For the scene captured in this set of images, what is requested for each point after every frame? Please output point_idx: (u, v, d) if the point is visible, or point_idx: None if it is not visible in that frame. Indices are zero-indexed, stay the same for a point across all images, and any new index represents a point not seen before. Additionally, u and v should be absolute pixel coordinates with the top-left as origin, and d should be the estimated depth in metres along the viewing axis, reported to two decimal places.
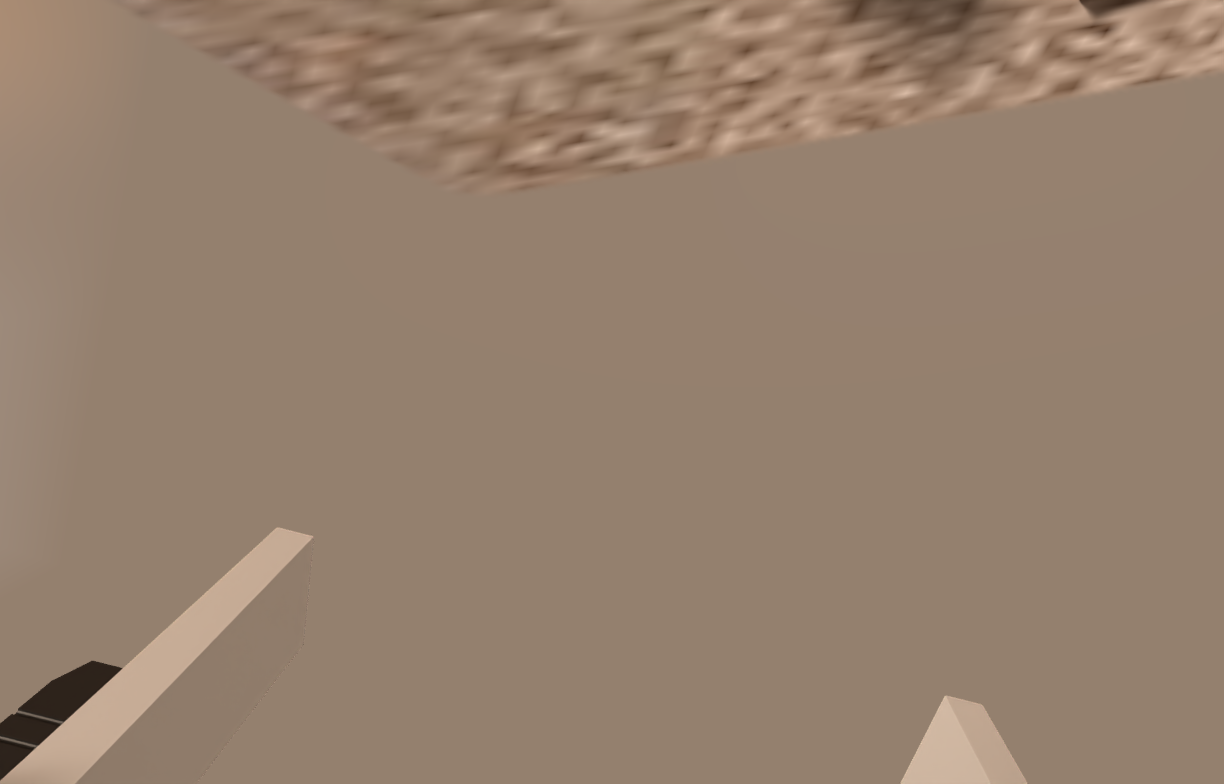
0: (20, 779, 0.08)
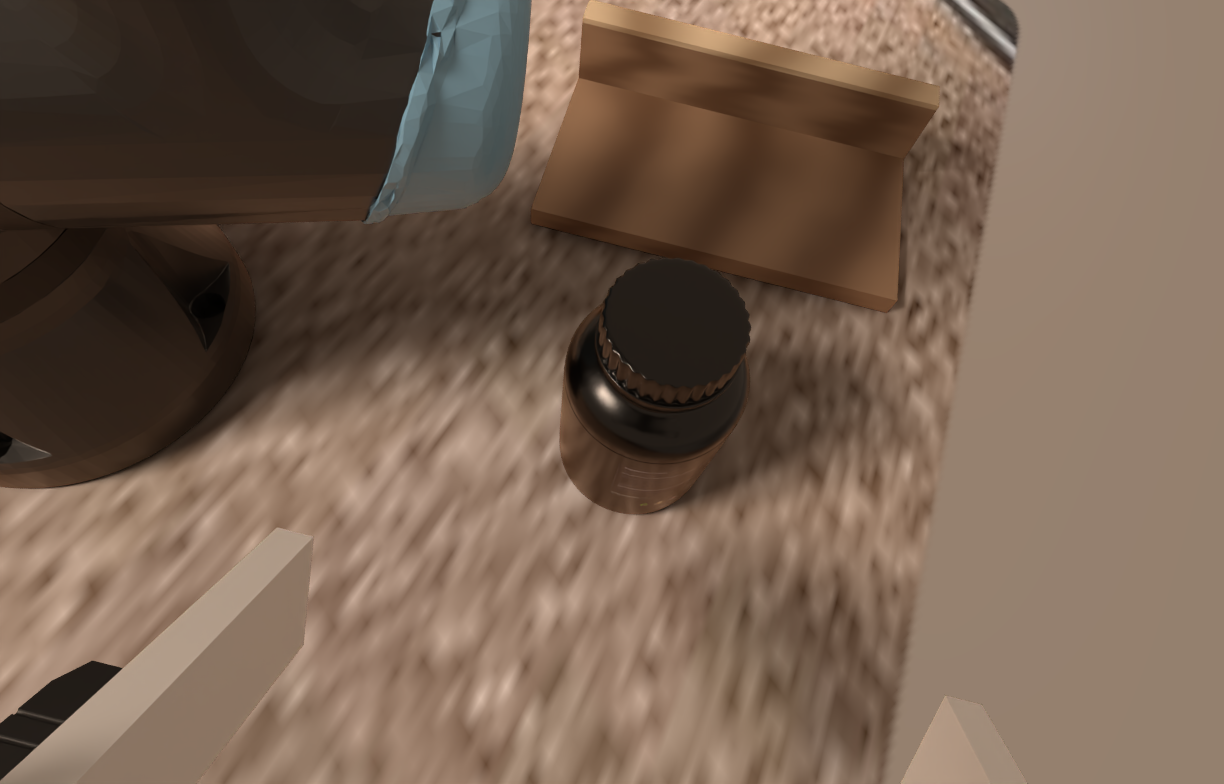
0: (20, 779, 0.08)
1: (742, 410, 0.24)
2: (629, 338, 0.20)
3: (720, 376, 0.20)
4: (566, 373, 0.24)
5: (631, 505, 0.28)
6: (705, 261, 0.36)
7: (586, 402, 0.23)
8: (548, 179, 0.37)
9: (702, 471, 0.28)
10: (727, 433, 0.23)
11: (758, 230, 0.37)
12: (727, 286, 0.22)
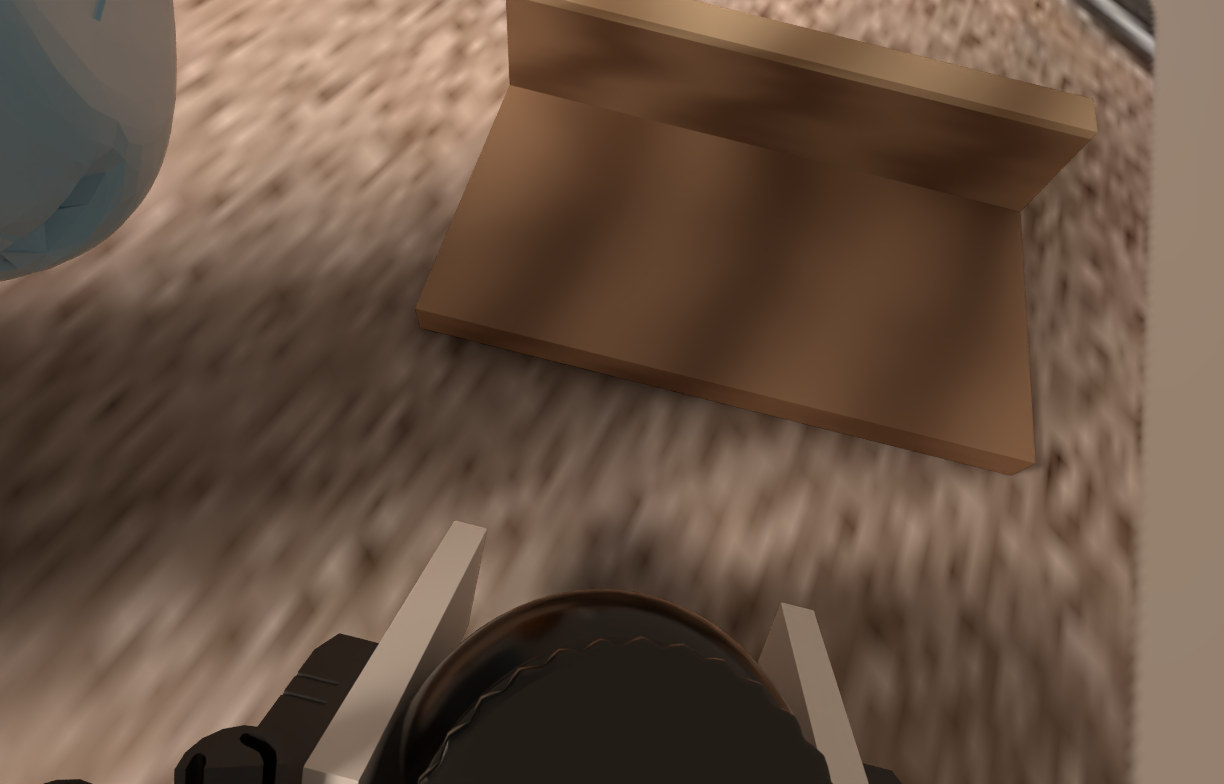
0: (342, 724, 0.10)
1: None
2: None
3: None
4: None
5: None
6: (710, 393, 0.22)
7: None
8: (448, 255, 0.22)
9: None
10: None
11: (797, 339, 0.22)
12: (791, 744, 0.07)
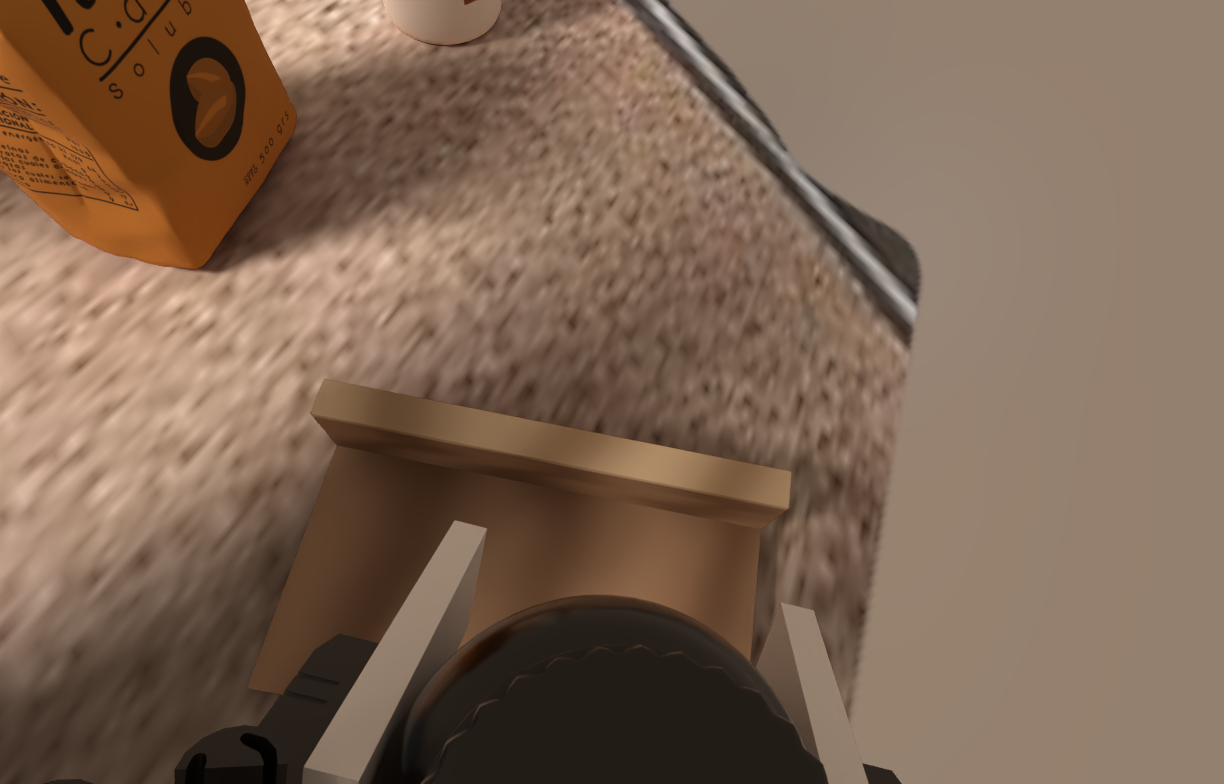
0: (342, 724, 0.10)
1: None
2: None
3: None
4: None
5: None
6: None
7: None
8: (277, 630, 0.28)
9: None
10: None
11: None
12: (790, 752, 0.07)
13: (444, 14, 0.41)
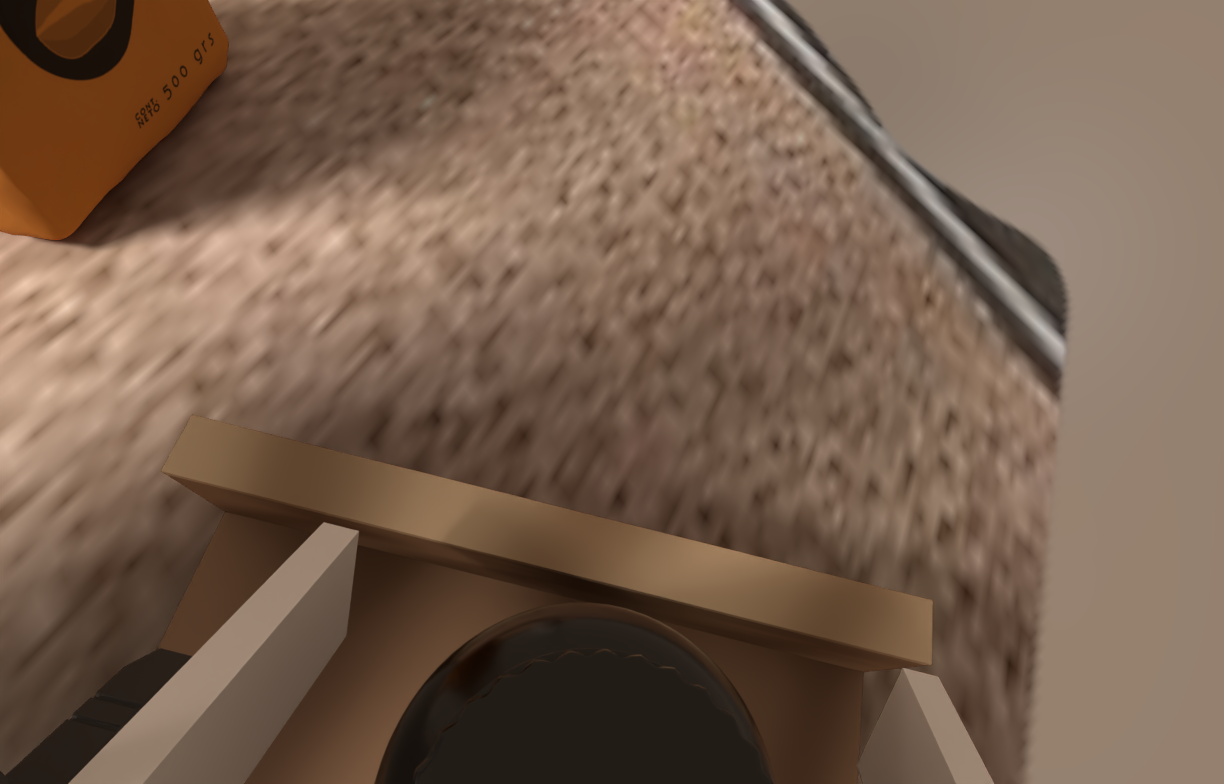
0: (112, 756, 0.08)
1: None
2: None
3: None
4: None
5: None
6: None
7: None
8: None
9: None
10: None
11: None
12: (731, 739, 0.08)
13: None
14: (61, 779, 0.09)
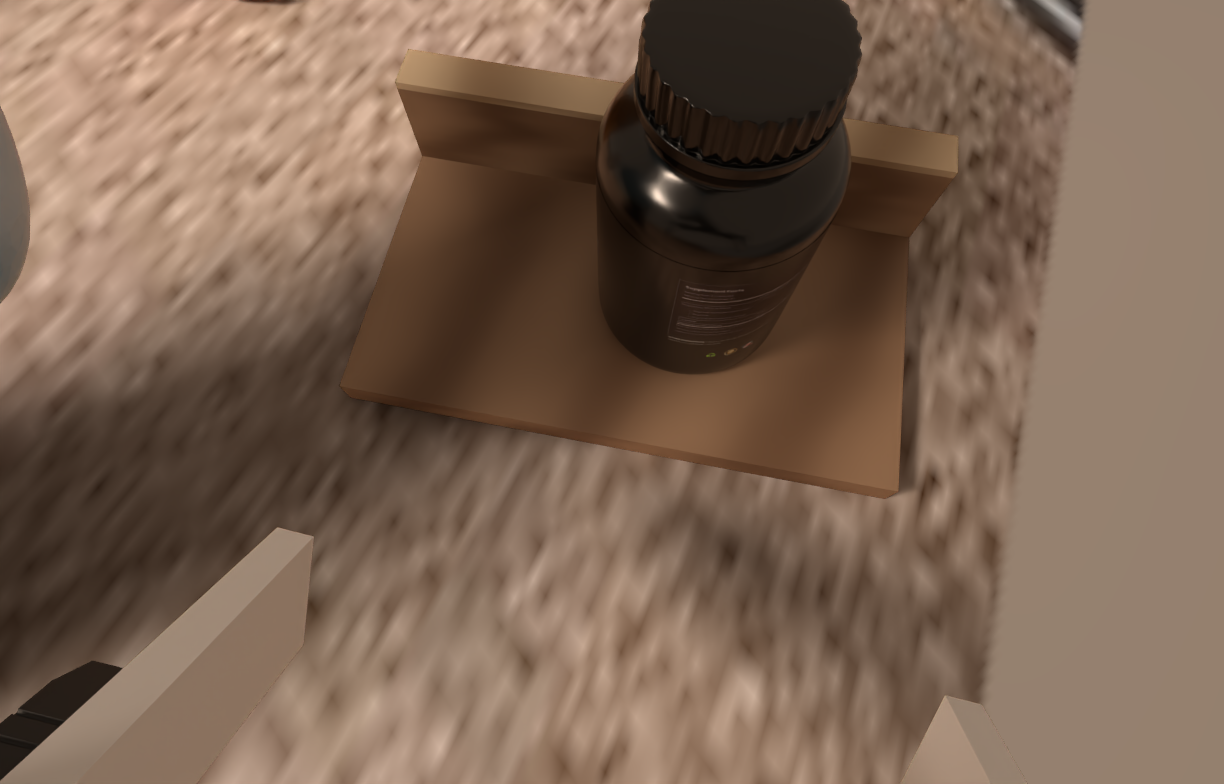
0: (20, 779, 0.08)
1: (844, 191, 0.17)
2: (684, 63, 0.14)
3: (822, 104, 0.14)
4: (598, 161, 0.17)
5: (694, 357, 0.22)
6: (604, 441, 0.24)
7: (628, 189, 0.17)
8: (368, 332, 0.25)
9: (784, 304, 0.21)
10: (825, 222, 0.17)
11: (682, 387, 0.24)
12: None
13: None
14: None
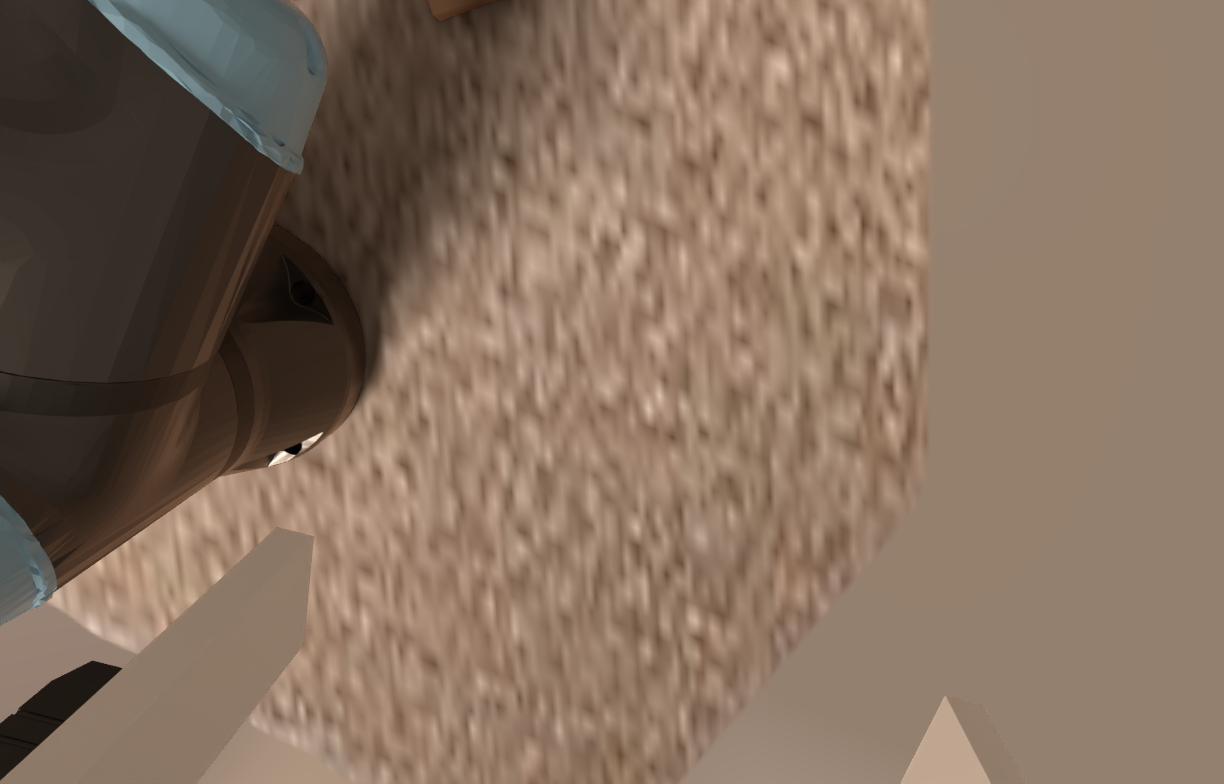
0: (20, 779, 0.08)
1: None
2: None
3: None
4: None
5: None
6: None
7: None
8: None
9: None
10: None
11: None
12: None
13: None
14: None
